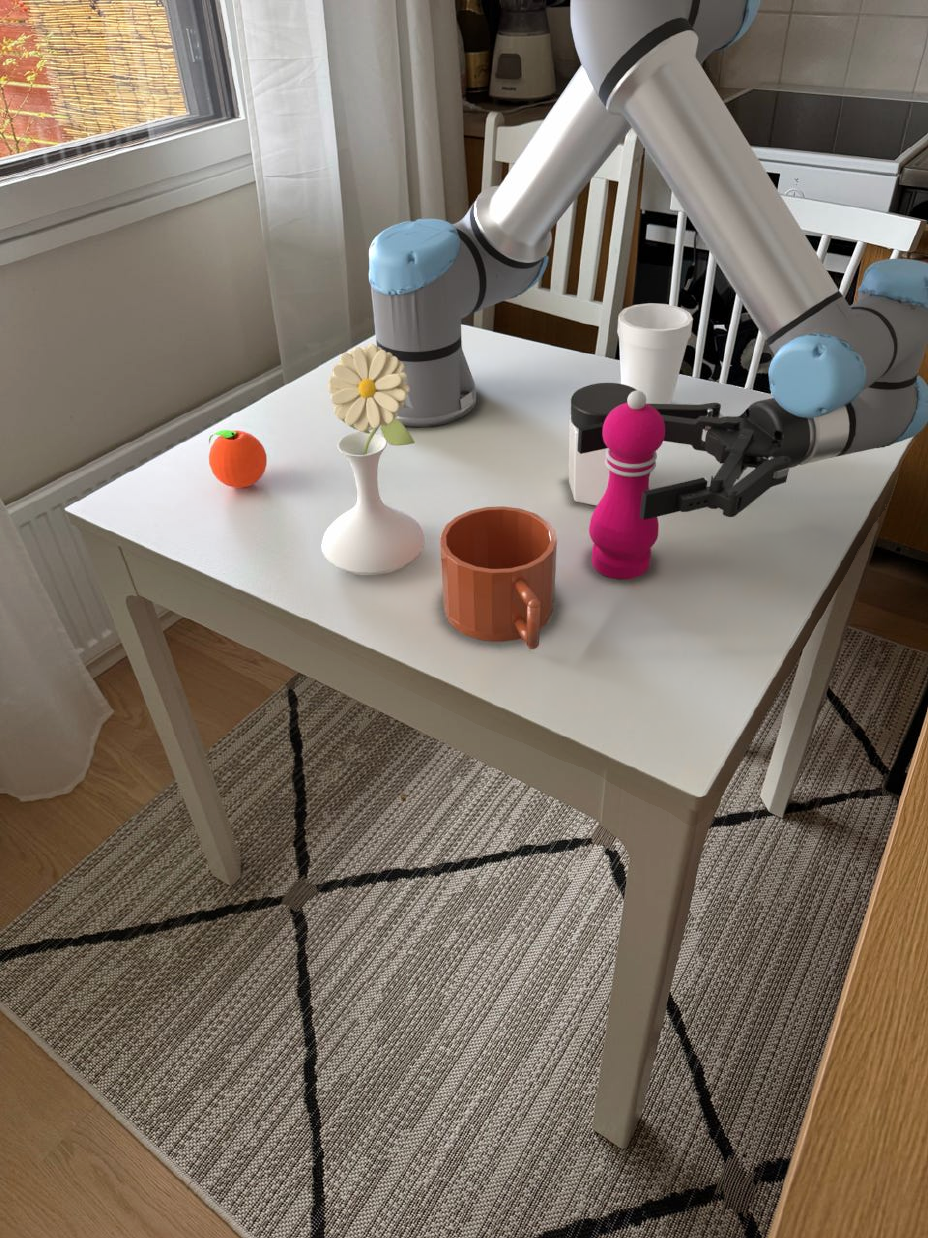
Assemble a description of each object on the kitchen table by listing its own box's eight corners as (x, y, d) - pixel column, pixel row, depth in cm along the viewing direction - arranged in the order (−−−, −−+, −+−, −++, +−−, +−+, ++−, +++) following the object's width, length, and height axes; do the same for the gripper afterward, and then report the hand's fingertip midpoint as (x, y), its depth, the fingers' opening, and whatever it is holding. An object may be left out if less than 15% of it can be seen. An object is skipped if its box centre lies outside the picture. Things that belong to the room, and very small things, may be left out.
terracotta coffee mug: (429, 587, 96) (425, 520, 90) (527, 564, 98) (528, 497, 93) (479, 678, 85) (478, 607, 79) (588, 649, 88) (593, 578, 82)
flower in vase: (302, 557, 101) (264, 340, 85) (377, 514, 107) (354, 304, 91) (382, 605, 94) (358, 378, 78) (457, 556, 100) (449, 337, 84)
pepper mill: (640, 590, 94) (661, 415, 82) (576, 571, 97) (587, 399, 84) (663, 554, 99) (687, 383, 86) (602, 537, 102) (616, 369, 89)
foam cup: (624, 388, 131) (632, 299, 122) (687, 400, 127) (700, 308, 119) (602, 417, 124) (609, 324, 116) (668, 429, 121) (680, 335, 112)
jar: (596, 516, 105) (600, 423, 97) (553, 488, 110) (553, 397, 103) (654, 490, 108) (662, 398, 101) (610, 464, 114) (614, 374, 106)
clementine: (196, 487, 113) (184, 436, 108) (234, 462, 117) (223, 412, 113) (246, 504, 110) (234, 451, 105) (282, 477, 114) (273, 426, 110)
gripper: (860, 521, 89) (669, 571, 83) (719, 413, 107) (555, 448, 101) (880, 453, 84) (679, 501, 78) (729, 352, 102) (558, 385, 97)
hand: (609, 471), depth 90 cm, fingers open, 13 cm apart
